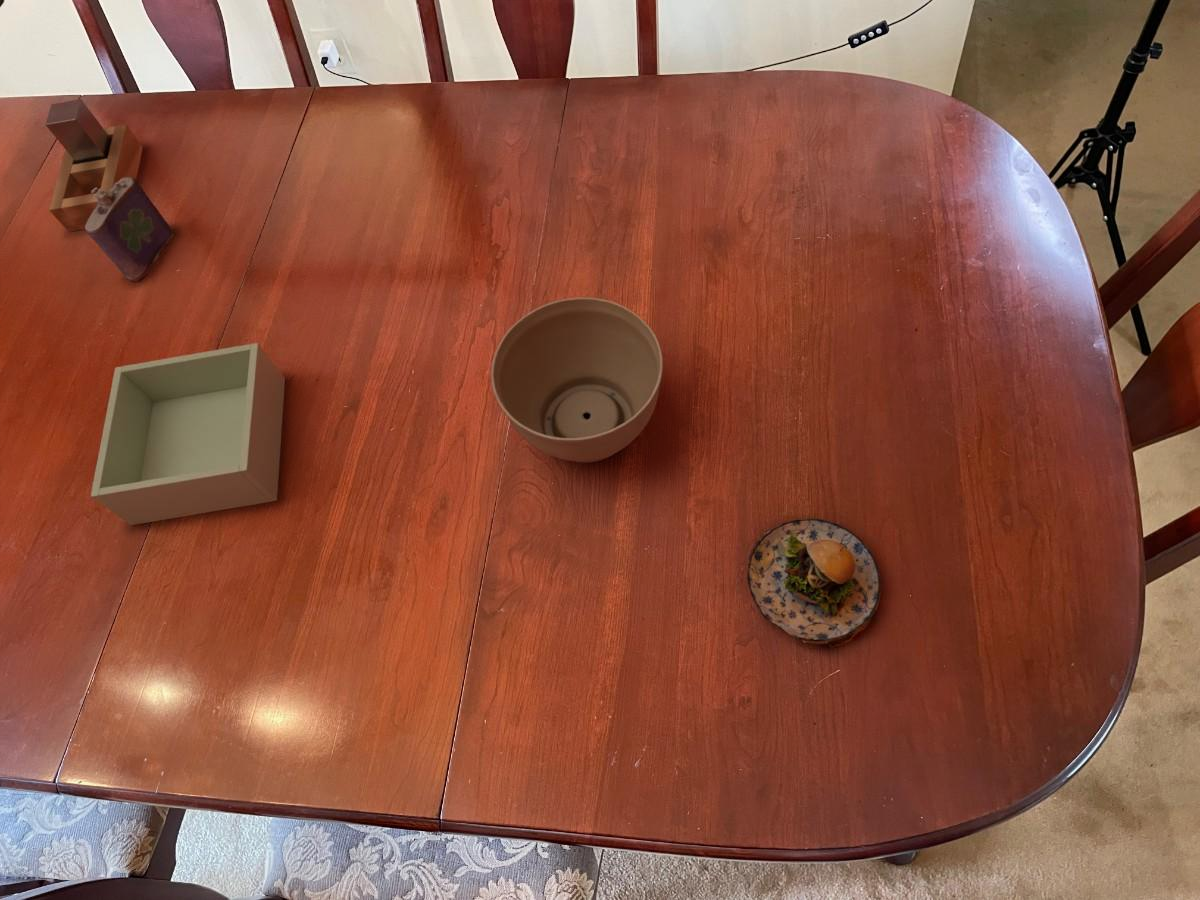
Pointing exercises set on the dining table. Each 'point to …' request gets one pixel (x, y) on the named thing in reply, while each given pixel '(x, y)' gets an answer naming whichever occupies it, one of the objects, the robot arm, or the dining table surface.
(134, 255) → the flask
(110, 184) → the rack
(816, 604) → the burger
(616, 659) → the dining table surface
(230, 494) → the tub
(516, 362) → the planter bowl
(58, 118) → the grey rectangular block
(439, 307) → the dining table surface
